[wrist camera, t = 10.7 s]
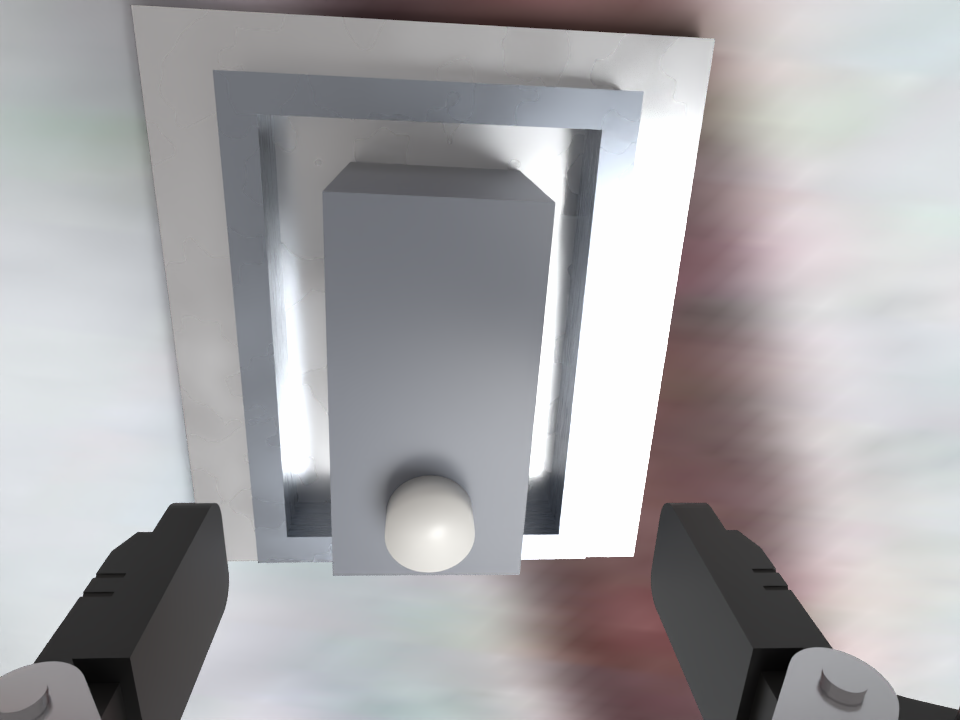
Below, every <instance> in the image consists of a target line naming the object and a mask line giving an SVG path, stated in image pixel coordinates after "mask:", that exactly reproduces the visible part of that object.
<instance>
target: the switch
mask: <svg viewBox="0 0 960 720" xmlns="http://www.w3.org/2000/svg"><path fill="white" fill-rule="evenodd" d="M131 9H132V17H133V25H134V33H135V40H136V48H137V56H138V64H139V71H140V79H141V87H142V95H143V102H144V110H145V118H146V126H147V133H148V141H149V149H150V157H151V164H152V172H153V180H154V188H155V196H156V203H157V211H158V219H159V227H160V234H161V242H162V250H163V258H164V265H165V273H166V281H167V289H168V296H169V304H170V312H171V320H172V327H173V335H174V343H175V351H176V359H177V366H178V374H179V382H180V390H181V397H182V405H183V413H184V421H185V428H186V436H187V444H188V452H189V459H190V467H191V475H192V483H193V490H194V498H195V503H217V504H218V505H219V507H220V509H221V514H222V522H223V530H224V539H225V547H226V555H227V561H258V563H277V562H332V525H331V489H330V453H329V417H328V380H327V344H326V308H325V272H324V236H323V199H322V191H323V190H324V189H325V188H326V187H327V186H328V185H329V184H330V183H331V182H332V181H333V180H334V178H335V177H336V176H337V175H338V174H339V173H340V172H341V171H342V170H343V169H344V168H345V167H346V166H347V165H348V164H349V163H350V162H365V163H384V164H404V165H423V166H443V167H462V168H482V169H501V170H520V171H521V172H522V173H523V174H524V175H525V176H526V177H528V178H529V179H530V180H531V181H532V182H533V183H534V184H535V185H537V186H538V187H539V188H540V189H541V190H542V191H543V192H545V193H546V194H547V195H548V196H549V197H550V198H551V199H553V200H554V201H555V202H556V206H555V216H554V226H553V237H552V247H551V257H550V267H549V277H548V288H547V298H546V308H545V318H544V329H543V339H542V349H541V359H540V370H539V380H538V390H537V400H536V411H535V421H534V431H533V441H532V452H531V462H530V472H529V482H528V492H527V503H526V513H525V523H524V533H523V544H522V554H521V559H585V557H607V556H633V555H634V549H635V542H636V536H637V530H638V523H639V517H640V511H641V504H642V498H643V492H644V485H645V479H646V473H647V466H648V460H649V454H650V447H651V441H652V435H653V428H654V422H655V416H656V409H657V403H658V397H659V390H660V384H661V378H662V371H663V365H664V359H665V353H666V346H667V340H668V334H669V327H670V321H671V315H672V308H673V302H674V296H675V289H676V283H677V277H678V270H679V264H680V258H681V251H682V245H683V239H684V232H685V226H686V220H687V213H688V207H689V201H690V194H691V188H692V182H693V175H694V169H695V163H696V156H697V150H698V144H699V137H700V131H701V125H702V118H703V112H704V106H705V99H706V93H707V87H708V80H709V74H710V68H711V61H712V55H713V49H714V43H715V39H711V38H694V37H677V36H660V35H642V34H625V33H608V32H591V31H573V30H556V29H539V28H522V27H504V26H487V25H470V24H452V23H435V22H418V21H401V20H383V19H366V18H349V17H332V16H314V15H297V14H280V13H263V12H245V11H228V10H211V9H194V8H176V7H159V6H142V5H131Z"/></svg>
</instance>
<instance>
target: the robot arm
mask: <svg viewBox="0 0 960 720" xmlns="http://www.w3.org/2000/svg"><path fill="white" fill-rule="evenodd" d="M228 589H229V572H228V564H227V555H226V547H225V539H224V530H223V522H222V514H221V509H220V507H219V505H218V504H217V503H173V504H171V505H170V506H169V507H168V509H167V510H166V512H165V513H164V515H163V516H162V518H161V520H160V521H159V523H158V524H157V526H156V527H155V529H154V531H153V532H137V533H136V534H134V535H133V536H132V537H130V538H129V539H128V540H126V541H125V542H124V543H122V544H121V545H120V546H118V547H117V548H116V549H114V550H113V551H112V552H111V553H110V555H109V556H108V557H107V559H106V560H105V562H104V563H103V565H102V566H101V567H100V569H99V570H98V572H97V573H96V578H93V579H92V580H91V582H90V583H89V585H88V586H87V588H86V589H85V590H84V592H83V597H80V598H79V599H78V600H77V602H76V603H75V605H74V606H73V608H72V609H71V610H70V612H69V613H68V615H67V616H66V618H65V619H64V621H63V622H62V623H61V625H60V626H59V628H58V629H57V631H56V632H55V633H54V635H53V636H52V638H51V639H50V641H49V642H48V643H47V645H46V646H45V648H44V649H43V651H42V652H41V653H40V655H39V656H38V658H37V659H36V661H35V662H34V664H31V665H27V666H24V667H21V668H18V669H16V670H13V671H11V672H9V673H7V674H5V675H3V676H1V677H0V720H181V717H182V715H183V712H184V710H185V707H186V705H187V702H188V700H189V697H190V695H191V692H192V690H193V687H194V685H195V682H196V680H197V677H198V675H199V672H200V670H201V667H202V665H203V662H204V660H205V657H206V655H207V652H208V650H209V647H210V645H211V643H212V640H213V638H214V635H215V633H216V630H217V628H218V625H219V623H220V620H221V618H222V615H223V613H224V610H225V606H226V602H227V597H228ZM651 589H652V596H653V600H654V604H655V607H656V609H657V612H658V614H659V616H660V619H661V621H662V623H663V626H664V628H665V630H666V633H667V635H668V637H669V640H670V642H671V645H672V647H673V649H674V652H675V654H676V656H677V659H678V661H679V663H680V666H681V668H682V670H683V673H684V675H685V677H686V680H687V682H688V684H689V687H690V689H691V691H692V694H693V696H694V698H695V701H696V703H697V705H698V708H699V710H700V712H701V715H702V717H703V719H704V720H960V707H959V710H956V709H952V708H948V707H944V706H939V705H935V704H931V703H927V702H922V701H918V700H914V699H910V698H906V697H902V696H899V695H896V693H895V691H894V689H893V688H892V686H891V685H890V684H889V682H888V681H887V680H886V679H885V678H884V677H883V676H882V675H881V674H880V673H879V672H878V671H877V670H875V669H874V668H873V667H871V666H870V665H868V664H867V663H865V662H864V661H862V660H860V659H858V658H856V657H854V656H852V655H850V654H847V653H845V652H842V651H839V650H835V649H833V648H832V647H831V646H830V644H829V643H828V641H827V640H826V639H825V637H824V636H823V634H822V633H821V632H820V630H819V629H818V627H817V626H816V625H815V623H814V622H813V620H812V619H811V618H810V616H809V615H808V613H807V612H806V611H805V609H804V608H803V606H802V605H801V604H800V602H799V601H798V599H797V598H796V596H795V595H794V594H793V592H792V591H791V590H788V585H787V584H786V582H785V581H784V580H783V578H782V577H781V575H780V574H779V573H776V568H775V567H774V566H773V564H772V563H771V561H770V560H769V559H768V557H767V556H766V554H765V553H764V552H763V550H762V549H761V548H760V547H759V546H758V545H756V544H755V543H754V542H752V541H751V540H750V539H748V538H747V537H746V536H744V535H743V534H742V533H740V532H739V531H738V530H726V529H725V528H724V526H723V525H722V523H721V522H720V520H719V519H718V517H717V516H716V514H715V513H714V511H713V510H712V508H711V507H710V506H709V505H708V504H707V503H666V504H664V506H663V508H662V510H661V514H660V520H659V527H658V533H657V539H656V545H655V551H654V558H653V564H652V571H651Z"/></svg>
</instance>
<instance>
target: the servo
mask: <svg viewBox="0 0 960 720" xmlns="http://www.w3.org/2000/svg"><path fill="white" fill-rule="evenodd" d="M322 199H323V236H324V272H325V308H326V344H327V380H328V417H329V453H330V489H331V525H332V562H333V576H354V575H519V574H520V564H521V554H522V544H523V533H524V523H525V513H526V503H527V492H528V482H529V472H530V462H531V452H532V441H533V431H534V421H535V411H536V400H537V390H538V380H539V370H540V359H541V349H542V339H543V329H544V318H545V308H546V298H547V288H548V277H549V267H550V257H551V247H552V237H553V226H554V216H555V206H556V202H555V201H554V200H553V199H551V198H550V197H549V196H548V195H547V194H546V193H545V192H543V191H542V190H541V189H540V188H539V187H538V186H537V185H535V184H534V183H533V182H532V181H531V180H530V179H529V178H528V177H526V176H525V175H524V174H523V173H522V172H521V171H520V170H501V169H482V168H462V167H443V166H423V165H404V164H384V163H365V162H350V163H349V164H348V165H347V166H346V167H345V168H344V169H343V170H342V171H341V172H340V173H339V174H338V175H337V176H336V177H335V178H334V180H333V181H332V182H331V183H330V184H329V185H328V186H327V187H326V188H325V189H324V190H323V191H322Z"/></svg>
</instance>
